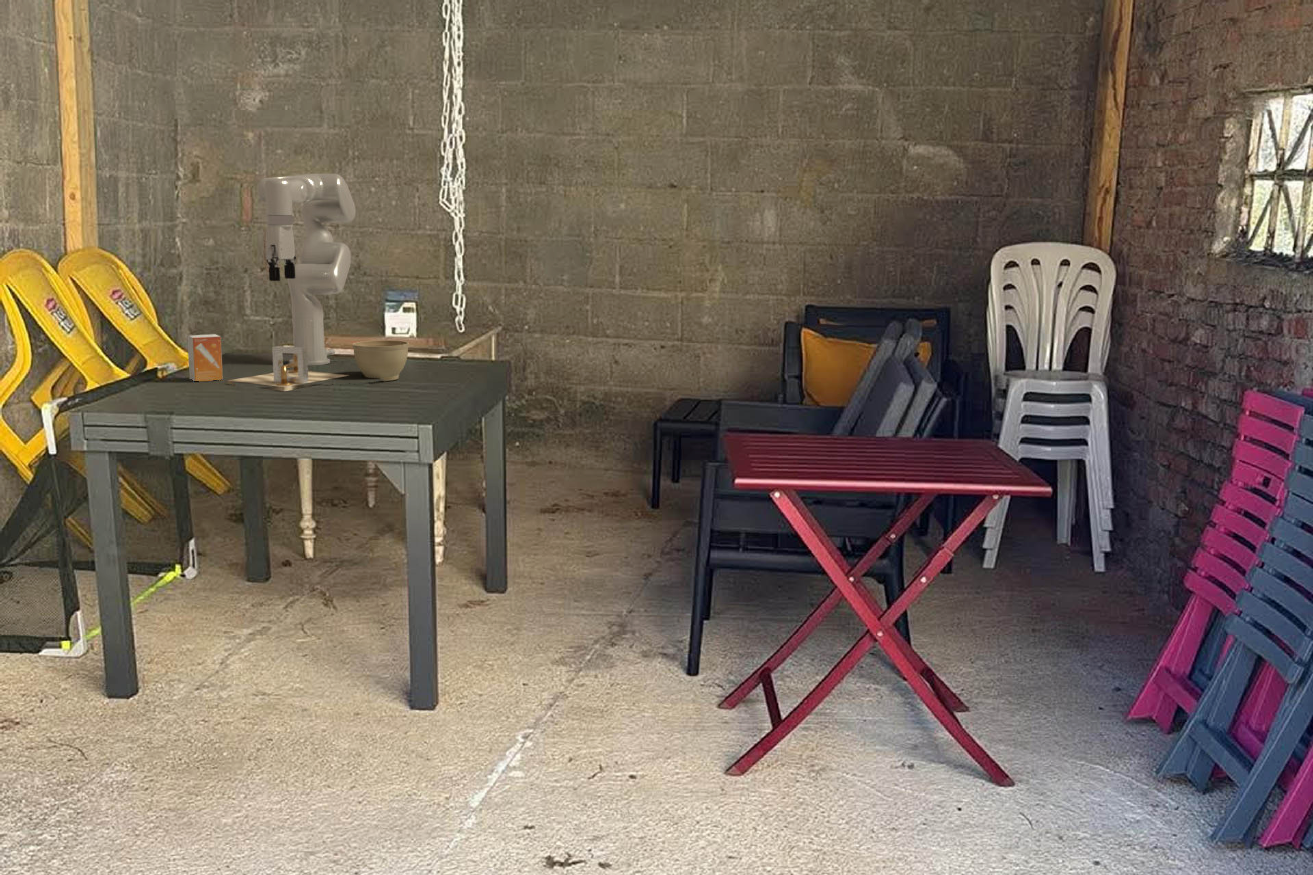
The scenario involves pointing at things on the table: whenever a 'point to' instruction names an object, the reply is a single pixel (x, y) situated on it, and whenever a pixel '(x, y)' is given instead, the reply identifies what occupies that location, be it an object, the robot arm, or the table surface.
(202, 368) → the small box
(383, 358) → the planter bowl
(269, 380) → the base board
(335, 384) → the table surface
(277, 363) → the white square frame
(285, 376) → the brass faucet
